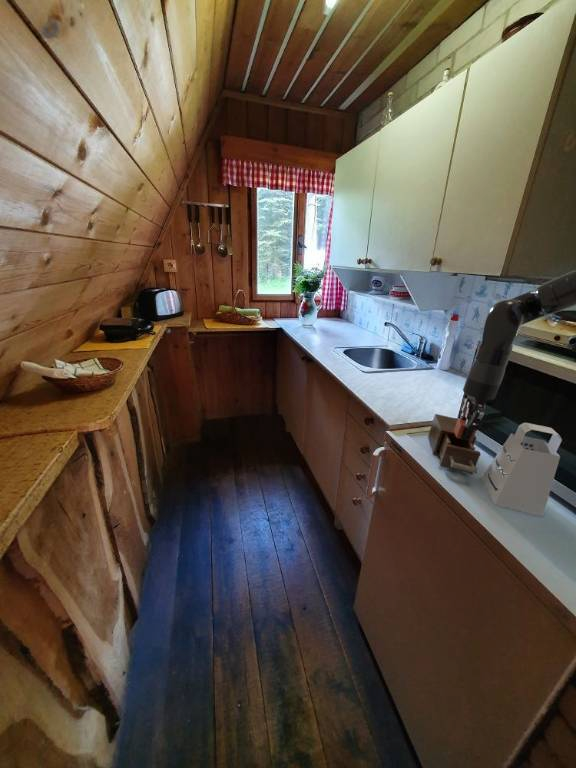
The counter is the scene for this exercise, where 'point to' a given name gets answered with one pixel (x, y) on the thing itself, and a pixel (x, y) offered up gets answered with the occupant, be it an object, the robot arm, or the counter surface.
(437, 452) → the cabinet
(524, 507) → the grater
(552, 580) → the counter surface
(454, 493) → the counter surface
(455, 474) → the counter surface
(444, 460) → the drawer
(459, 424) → the block
